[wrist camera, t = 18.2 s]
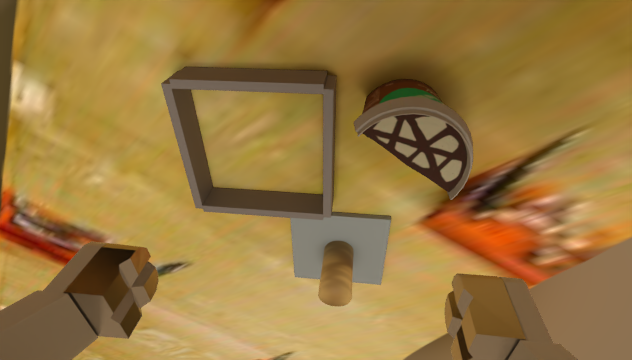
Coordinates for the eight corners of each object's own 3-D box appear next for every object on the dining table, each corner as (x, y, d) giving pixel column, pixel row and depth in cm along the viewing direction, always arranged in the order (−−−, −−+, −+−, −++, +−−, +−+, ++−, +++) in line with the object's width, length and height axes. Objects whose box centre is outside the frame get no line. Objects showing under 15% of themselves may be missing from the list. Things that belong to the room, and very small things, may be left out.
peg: (354, 241, 51) (352, 287, 44) (352, 262, 53) (350, 307, 47) (324, 239, 51) (318, 284, 45) (324, 259, 54) (318, 304, 47)
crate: (336, 71, 37) (333, 84, 34) (333, 201, 48) (330, 220, 45) (176, 66, 39) (159, 78, 36) (207, 192, 50) (196, 210, 46)
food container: (480, 111, 38) (510, 160, 30) (438, 149, 41) (455, 203, 33) (393, 42, 35) (401, 77, 27) (355, 89, 38) (352, 132, 30)
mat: (390, 216, 48) (390, 220, 48) (380, 280, 56) (380, 284, 56) (291, 209, 50) (290, 212, 49) (295, 273, 58) (294, 276, 57)
